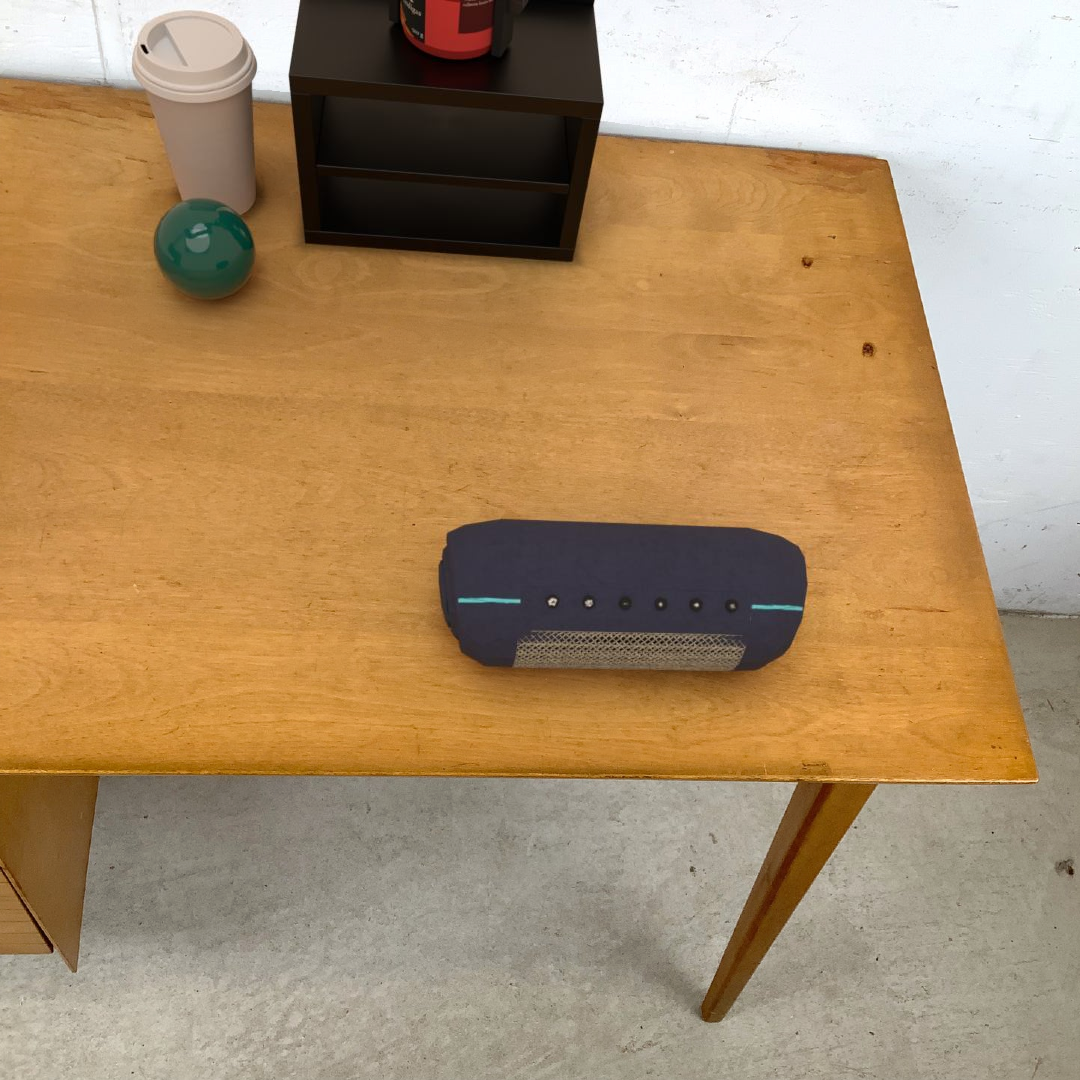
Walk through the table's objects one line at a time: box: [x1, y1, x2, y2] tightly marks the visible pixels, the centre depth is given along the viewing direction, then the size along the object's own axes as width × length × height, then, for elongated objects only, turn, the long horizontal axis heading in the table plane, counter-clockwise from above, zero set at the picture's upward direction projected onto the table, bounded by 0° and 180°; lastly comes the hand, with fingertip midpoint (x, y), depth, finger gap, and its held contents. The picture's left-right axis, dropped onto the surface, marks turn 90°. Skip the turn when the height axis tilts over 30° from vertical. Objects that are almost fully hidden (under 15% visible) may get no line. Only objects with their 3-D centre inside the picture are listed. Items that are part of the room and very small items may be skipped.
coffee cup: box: [131, 9, 258, 216], centre depth 85 cm, size 10×10×15 cm
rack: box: [288, 0, 605, 263], centre depth 87 cm, size 14×24×18 cm, turn 92°
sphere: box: [152, 198, 257, 301], centre depth 82 cm, size 8×8×8 cm
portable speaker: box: [438, 518, 809, 672], centre depth 69 cm, size 25×10×10 cm, turn 92°
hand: (450, 29), depth 80 cm, fingers closed on canned food, 8 cm apart
